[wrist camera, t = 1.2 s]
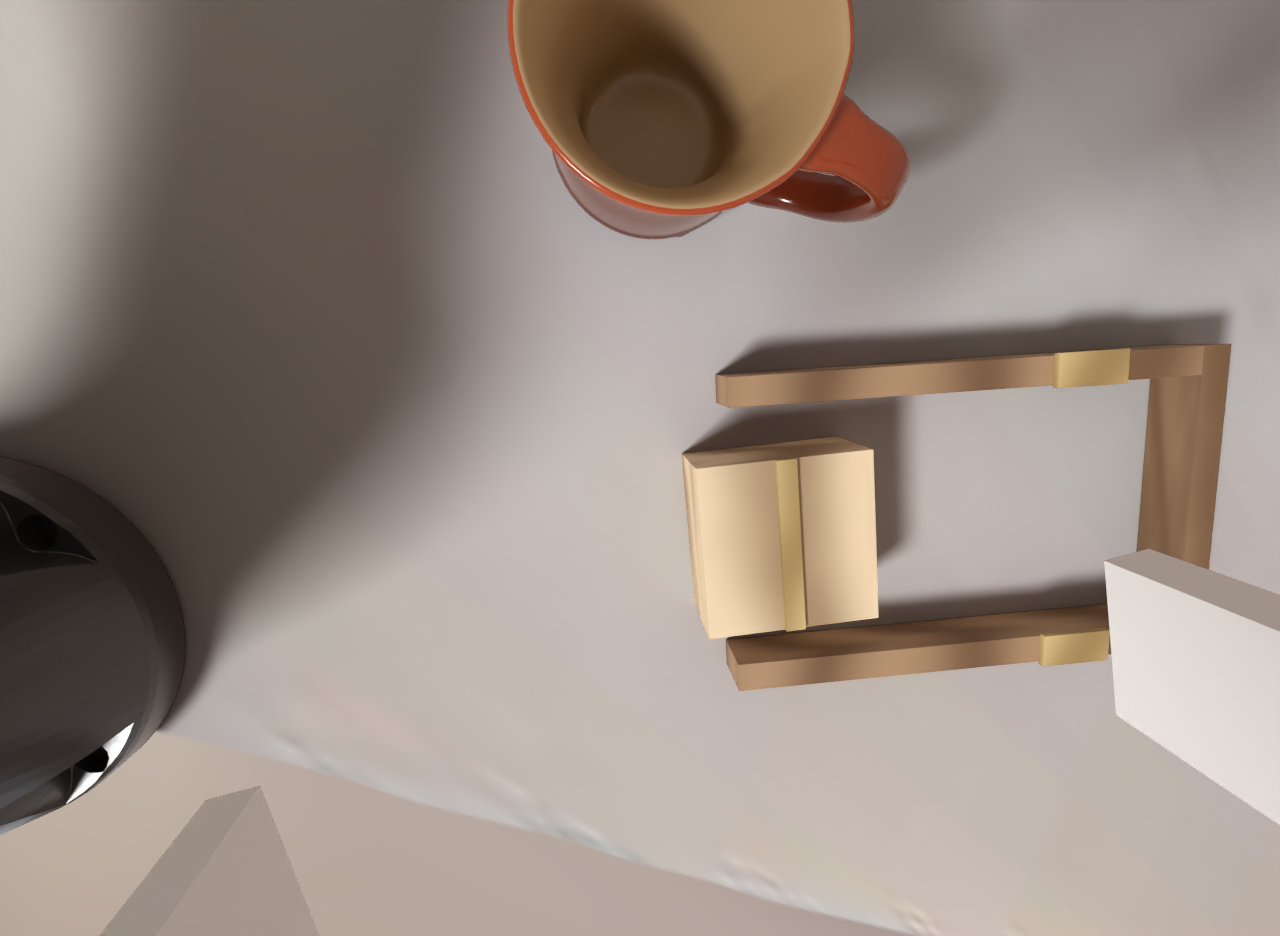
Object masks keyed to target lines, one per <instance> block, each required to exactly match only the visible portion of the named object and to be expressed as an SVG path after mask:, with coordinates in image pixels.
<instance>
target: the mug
mask: <svg viewBox="0 0 1280 936" xmlns="http://www.w3.org/2000/svg"><path fill="white" fill-rule="evenodd" d="M507 17H508V39H509V47H510V55H511V60H512V65H513V69H514V74H515V77H516V80H517V84H518V87H519V90H520V93H521V95H522V98H523V100H524V103H525V105H526V108H527V110H528V112H529V113H530V115H531V117H532V119H533V121H534V123H535V125H536V127H537V128H538V130H539V131H540V133H541V135H542V136H543V138H544V139H545V141H546V142H547V143H548V145H549V146H550V147H551V149H552V152H553V157H554V160H555V163H556V167H557V169H558V172H559V174H560V176H561V178H562V180H563V182H564V184H565V186H566V188H567V189H568V191H569V192H570V194H571V195H572V197H573V198H574V199H575V200H576V202H577V203H578V204H579V205H580V206H581V207H582V208H583V209H584V210H585V211H586V212H587V213H588V214H589V215H590V216H591V217H593V218H594V219H595V220H597V221H598V222H599V223H601V224H603V225H604V226H606V227H608V228H610V229H612V230H614V231H616V232H618V233H621V234H624V235H627V236H631V237H636V238H643V239H664V238H671V237H681V236H684V235H686V234H688V233H689V232H691V231H693V230H695V229H697V228H699V227H701V226H703V225H705V224H706V223H708V222H710V221H711V220H713V219H714V218H716V217H717V216H718V215H719V214H721V212H722V211H724V210H727V209H731V208H734V207H737V206H739V205H742V204H744V203H746V202H747V203H750V204H753V205H757V206H761V207H767V208H773V209H779V210H784V211H788V212H792V213H796V214H799V215H803V216H806V217H810V218H813V219H818V220H823V221H829V222H841V223H847V222H858V221H864V220H869V219H872V218H875V217H877V216H879V215H881V214H883V213H884V212H886V211H887V210H888V209H890V208H891V206H892V205H893V204H894V202H895V201H896V199H897V197H898V196H899V194H900V192H901V190H902V188H903V186H904V184H905V182H906V180H907V178H908V175H909V171H910V158H909V155H908V152H907V151H906V149H905V148H904V146H903V145H902V143H901V142H900V141H899V140H898V139H897V138H896V137H895V136H893V135H892V134H891V133H890V132H888V131H887V130H885V129H884V128H883V127H881V126H880V125H878V124H877V123H875V122H874V121H873V120H871V119H870V118H869V117H868V116H867V115H865V114H864V113H863V111H862V110H861V109H860V108H859V107H858V106H857V105H856V104H855V103H854V102H853V101H852V100H851V99H850V98H848V97H847V96H846V95H844V94H843V92H844V89H845V85H846V82H847V79H848V75H849V72H850V68H851V64H852V59H853V53H854V22H853V10H852V3H851V0H508V16H507ZM817 172H820V173H828V174H832V175H836V176H830V175H825V174H820V173H817Z"/></svg>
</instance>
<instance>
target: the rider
mask: <svg viewBox="0 0 1280 936" xmlns="http://www.w3.org/2000/svg"><path fill="white" fill-rule="evenodd" d="M682 463H683V474H684V486H685V498H686V509H687V521H688V533H689V544H690V556H691V568H692V579H693V591H694V603H695V606H696V608H697V610H698V613H699V615H700V618H701V620H702V622H703V625H704V627H705V629H706V632H707V634H708V636H709V639H715V638H723V637H731V636H739V635H747V634H754V633H762V632H770V631H778V630H786V632H788V631H796V630H804V629H806V627H810V626H818V625H825V624H833V623H841V622H849V621H857V620H865V619H873V618H879V616H878V583H877V550H876V517H875V484H874V451H873V449H871V448H868V447H865V446H863V445H860V444H857V443H854V442H851V441H848V440H846V439H843V438H840V437H828V438H819V439H810V440H801V441H791V442H782V443H773V444H764V445H755V446H746V447H736V448H727V449H718V450H709V451H700V452H691V453H682Z"/></svg>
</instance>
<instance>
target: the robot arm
mask: <svg viewBox="0 0 1280 936" xmlns="http://www.w3.org/2000/svg"><path fill="white" fill-rule="evenodd" d="M1104 566H1105V578H1106V591H1107V604H1108V616H1109V629H1110V641H1111V654H1112V667H1113V679H1114V692H1115V705H1116V715H1117V716H1119V717H1120V718H1122V719H1123V720H1125V721H1126V722H1128V723H1129V724H1131V725H1132V726H1133V727H1135V728H1136V729H1138V730H1139V731H1141V732H1142V733H1144V734H1145V735H1147V736H1148V737H1150V738H1151V739H1153V740H1154V741H1156V742H1157V743H1159V744H1160V745H1162V746H1163V747H1165V748H1166V749H1168V750H1169V751H1171V752H1172V753H1173V754H1175V755H1176V756H1178V757H1179V758H1181V759H1182V760H1184V761H1185V762H1187V763H1188V764H1190V765H1191V766H1193V767H1194V768H1196V769H1197V770H1199V771H1200V772H1202V773H1203V774H1205V775H1206V776H1208V777H1209V778H1211V779H1212V780H1213V781H1215V782H1216V783H1218V784H1219V785H1221V786H1222V787H1224V788H1225V789H1227V790H1228V791H1230V792H1231V793H1233V794H1234V795H1236V796H1237V797H1239V798H1240V799H1242V800H1243V801H1245V802H1246V803H1248V804H1249V805H1251V806H1252V807H1253V808H1255V809H1256V810H1258V811H1259V812H1261V813H1262V814H1264V815H1265V816H1267V817H1268V818H1270V819H1271V820H1273V821H1274V822H1276V823H1277V824H1279V825H1280V595H1279V594H1276V593H1273V592H1270V591H1267V590H1265V589H1262V588H1259V587H1256V586H1253V585H1250V584H1248V583H1245V582H1242V581H1239V580H1236V579H1233V578H1231V577H1228V576H1225V575H1222V574H1219V573H1216V572H1214V571H1211V570H1208V569H1205V568H1202V567H1199V566H1197V565H1194V564H1191V563H1188V562H1185V561H1182V560H1180V559H1177V558H1174V557H1171V556H1168V555H1165V554H1163V553H1160V552H1157V551H1154V550H1151V549H1146V550H1142V551H1139V552H1135V553H1131V554H1127V555H1124V556H1120V557H1116V558H1112V559H1109V560H1105V561H1104ZM184 658H185V634H184V625H183V618H182V613H181V609H180V605H179V602H178V599H177V596H176V593H175V590H174V587H173V585H172V583H171V580H170V578H169V576H168V574H167V572H166V570H165V568H164V566H163V565H162V563H161V561H160V560H159V558H158V556H157V555H156V553H155V552H154V551H153V549H152V548H151V546H150V545H149V544H148V542H147V541H146V540H145V539H144V538H143V536H142V535H141V534H140V533H139V532H138V531H137V529H136V528H135V527H134V526H133V525H132V524H131V523H130V522H129V521H128V520H127V519H126V518H125V517H124V516H122V515H121V514H120V513H119V512H118V511H117V510H116V509H114V508H113V507H112V506H111V505H109V504H108V503H107V502H105V501H104V500H103V499H101V498H100V497H98V496H97V495H96V494H94V493H92V492H91V491H89V490H88V489H86V488H84V487H83V486H81V485H79V484H77V483H75V482H73V481H71V480H70V479H68V478H65V477H63V476H61V475H59V474H56V473H54V472H52V471H49V470H46V469H44V468H41V467H38V466H35V465H31V464H28V463H25V462H20V461H16V460H12V459H7V458H1V457H0V835H1V834H3V833H6V832H8V831H10V830H12V829H14V828H17V827H19V826H21V825H24V824H26V823H28V822H30V821H32V820H34V819H37V818H39V817H41V816H43V815H46V814H48V813H50V812H52V811H55V810H57V809H59V808H61V807H63V806H65V805H67V804H69V803H71V802H72V801H74V800H76V799H77V798H79V797H80V796H82V795H83V794H85V793H87V792H88V791H90V790H91V789H93V788H94V787H95V786H97V785H98V784H100V783H101V782H102V781H103V780H105V779H106V778H107V777H108V776H109V775H110V774H111V773H112V772H114V771H115V770H116V769H117V768H118V767H119V766H120V765H121V764H123V762H125V761H126V760H127V759H128V758H129V757H131V756H132V755H133V754H134V753H135V752H136V751H137V750H138V749H140V748H141V747H142V746H143V745H144V744H145V743H146V742H147V741H148V740H149V738H150V737H151V736H152V735H153V734H154V732H155V731H156V730H157V729H158V727H159V726H160V724H161V723H162V722H163V720H164V718H165V717H166V715H167V713H168V711H169V710H170V708H171V705H172V703H173V701H174V699H175V696H176V694H177V691H178V688H179V685H180V681H181V677H182V672H183V667H184ZM100 936H319V934H318V931H317V929H316V926H315V924H314V921H313V918H312V916H311V913H310V911H309V909H308V906H307V903H306V901H305V898H304V896H303V893H302V891H301V888H300V886H299V883H298V881H297V878H296V876H295V873H294V871H293V868H292V865H291V863H290V861H289V858H288V856H287V853H286V851H285V848H284V845H283V843H282V840H281V838H280V835H279V833H278V830H277V828H276V825H275V823H274V820H273V818H272V815H271V812H270V810H269V808H268V805H267V802H266V800H265V797H264V795H263V792H262V790H261V787H260V786H257V787H253V788H250V789H246V790H242V791H238V792H235V793H231V794H227V795H223V796H220V797H216V798H212V799H209V800H206V801H205V802H204V803H203V805H202V806H201V807H200V808H199V810H198V811H197V812H196V813H195V815H194V816H193V817H192V818H191V820H190V821H189V822H188V824H187V825H186V826H185V827H184V829H183V830H182V831H181V833H180V834H179V835H178V836H177V838H176V839H175V840H174V841H173V843H172V844H171V845H170V847H169V848H168V849H167V850H166V852H165V853H164V854H163V855H162V857H161V858H160V859H159V861H158V862H157V863H156V864H155V866H154V867H153V868H152V869H151V871H150V872H149V873H148V875H147V876H146V877H145V879H144V880H143V881H142V882H141V883H140V885H139V886H138V887H137V889H136V890H135V891H134V892H133V894H132V895H131V896H130V898H129V899H128V900H127V902H126V903H125V904H124V905H123V906H122V908H121V909H120V910H119V912H118V913H117V914H116V915H115V917H114V918H113V919H112V920H111V922H110V923H109V924H108V926H107V927H106V928H105V929H104V931H103V932H102V933H101V935H100Z"/></svg>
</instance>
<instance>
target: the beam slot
mask: <svg viewBox="0 0 1280 936" xmlns="http://www.w3.org/2000/svg"><path fill="white" fill-rule="evenodd" d="M1230 353H1231V344H1175V345H1160V346H1145V347H1130V348H1114V349H1099V350H1084V351H1069V352H1054V353H1039V354H1024V355H1008V356H993V357H978V358H963V359H948V360H933V361H917V362H902V363H887V364H872V365H857V366H842V367H827V368H811V369H796V370H781V371H766V372H751V373H736V374H720V375H715V377H716V402H717V403H718V404H721V405H723V406H726V407H728V408H733V407H747V406H761V405H776V404H790V403H805V402H819V401H833V400H848V399H862V398H876V397H891V396H905V395H920V394H934V393H948V392H963V391H977V390H991V389H1006V388H1020V387H1035V386H1049V385H1053V388H1066V387H1081V386H1095V385H1109V384H1124V383H1128V380H1135V379H1150V378H1151V380H1150V392H1149V405H1148V417H1147V430H1146V443H1145V455H1144V468H1143V480H1142V493H1141V505H1140V518H1139V530H1138V543H1137V552H1139V551H1142V550H1146V549H1151V550H1154V551H1157V552H1160V553H1163V554H1165V555H1168V556H1171V557H1174V558H1177V559H1180V560H1182V561H1185V562H1188V563H1191V564H1194V565H1197V566H1199V567H1202V568H1205V569H1208V570H1209V560H1210V551H1211V541H1212V531H1213V521H1214V511H1215V501H1216V491H1217V481H1218V471H1219V462H1220V452H1221V442H1222V432H1223V422H1224V412H1225V402H1226V392H1227V382H1228V372H1229V363H1230ZM726 651H727V665H728V667H729V669H730V672H731V674H732V676H733V678H734V680H735V683H736V685H737V687H738V689H739V691H744V690H754V689H764V688H774V687H784V686H794V685H804V684H814V683H824V682H834V681H844V680H854V679H864V678H874V677H884V676H895V675H905V674H915V673H925V672H935V671H945V670H955V669H965V668H975V667H985V666H995V665H1005V664H1015V663H1025V662H1035V661H1039V664H1040V665H1042V666H1052V665H1062V664H1072V663H1082V662H1092V661H1102V660H1108V654H1111V641H1110V629H1109V616H1108V604H1100V605H1090V606H1079V607H1069V608H1058V609H1047V610H1037V611H1026V612H1015V613H1005V614H994V615H984V616H973V617H962V618H952V619H941V620H930V621H920V622H909V623H898V624H888V625H877V626H867V627H856V628H845V629H835V630H824V631H813V632H803V633H792V634H782V635H771V636H760V637H750V638H739V639H728V640H726Z"/></svg>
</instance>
